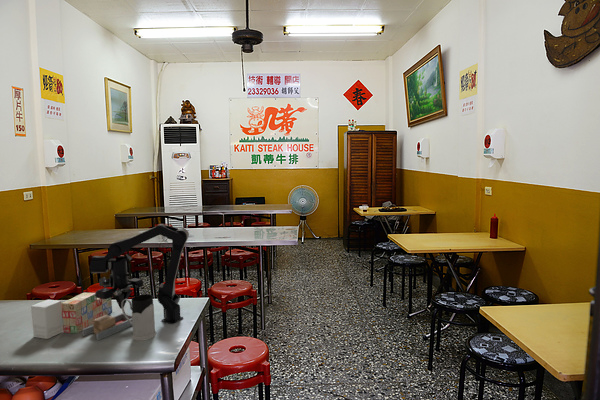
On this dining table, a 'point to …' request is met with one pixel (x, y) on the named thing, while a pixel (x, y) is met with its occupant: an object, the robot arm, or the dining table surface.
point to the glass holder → (142, 317)
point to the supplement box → (47, 319)
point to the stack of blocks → (83, 311)
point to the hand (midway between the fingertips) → (121, 308)
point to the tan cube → (103, 323)
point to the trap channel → (119, 325)
